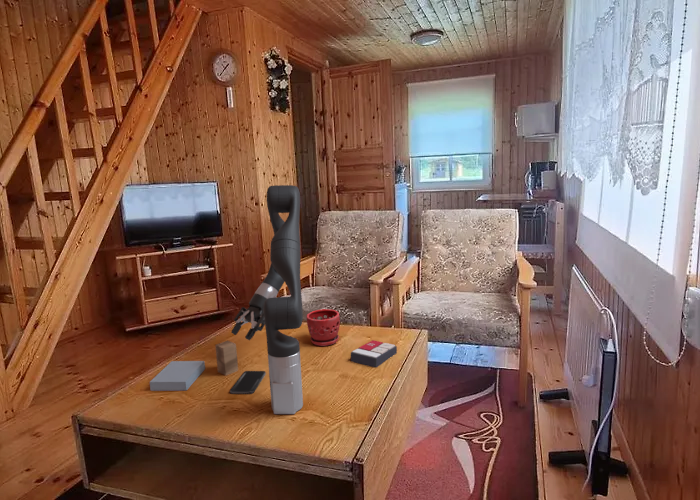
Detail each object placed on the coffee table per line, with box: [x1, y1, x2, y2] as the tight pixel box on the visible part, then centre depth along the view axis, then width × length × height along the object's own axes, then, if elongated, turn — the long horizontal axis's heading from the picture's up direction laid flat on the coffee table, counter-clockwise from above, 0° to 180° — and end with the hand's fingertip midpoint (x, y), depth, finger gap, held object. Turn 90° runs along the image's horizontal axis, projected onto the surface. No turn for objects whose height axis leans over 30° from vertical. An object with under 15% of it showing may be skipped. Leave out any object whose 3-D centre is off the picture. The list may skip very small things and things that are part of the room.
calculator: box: [350, 340, 398, 368], centre depth 167 cm, size 11×4×15 cm
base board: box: [149, 360, 206, 392], centre depth 154 cm, size 16×12×3 cm
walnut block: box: [214, 340, 239, 377], centre depth 159 cm, size 5×5×10 cm
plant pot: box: [306, 308, 341, 347], centre depth 182 cm, size 13×13×12 cm
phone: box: [229, 370, 267, 395], centre depth 150 cm, size 8×1×15 cm
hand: (240, 336), depth 162 cm, fingers open, 8 cm apart
